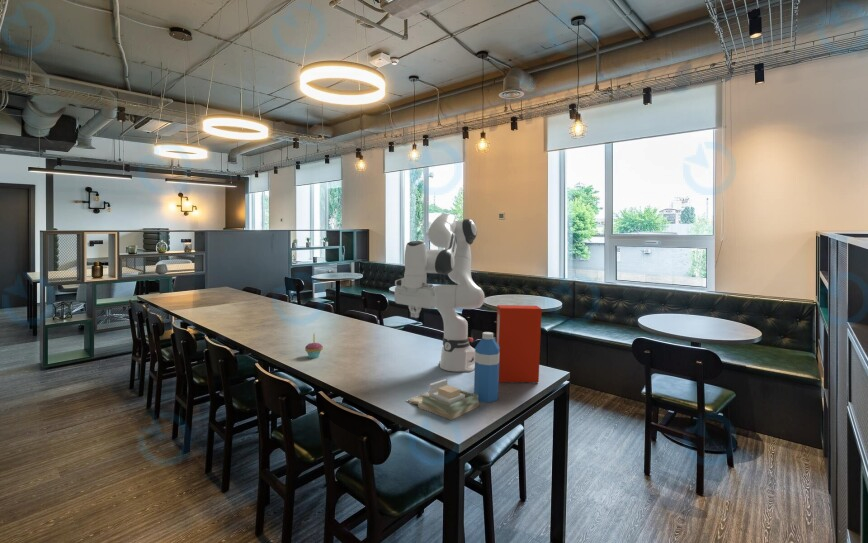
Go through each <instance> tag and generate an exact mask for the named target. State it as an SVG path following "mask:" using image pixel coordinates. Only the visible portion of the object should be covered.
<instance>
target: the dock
mask: <svg viewBox="0 0 868 543" xmlns="http://www.w3.org/2000/svg"><path fill="white" fill-rule="evenodd" d="M427 392H428V393H426V392H424V393H425V394H423V393H422V394H423V395H421V394H419V395H420V396H418V395H417V396H418V397H416V396H414V397H415V398H413V397H412V398H413V399H411V398H409V399H410V400H408V399H407V400H408V402H407V403H409V402H411V403H413V404H412V405H417V406H418V407H420V408H419V409H421V408H422V409H421V410H423V409H425V410H424V411H426V410H427V411H426V412H428V411H430V412H429V413H431V412H432V413H431V414H433V413H435V414H434V415H436V414H437V415H436V416H439V415H440V416H439V417H441V416H442V417H441V418H444V417H445V418H444V419H446V418H447V420H450V421H452V420H455V419H457V418H458V417H460V416H462V415H464V414H466V413H469V412H470V411H472V410H474V409H477V408H478V407H479V406H480V401H478V395H477V394H474V393H472V392H468V391H465V390H462V389H460V393H462V394H465V399H462V400H460V401H458V402H456V403H454V404H451V405H450V404H449V403H446V402H443V401H440V400H437V399H435V398H432V397H429V391H427ZM411 403H410V404H411Z"/></svg>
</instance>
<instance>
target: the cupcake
mask: <svg viewBox="0 0 868 543" xmlns="http://www.w3.org/2000/svg"><path fill="white" fill-rule="evenodd" d="M315 335H316V334H315V333H313V335H312V336H313V337H312V338H313V339H312V342H309V343H307V345H306V346H305V349H304V350H305V351H306V353H307V355H308V358H309V359H316V358H319V357H320V354H321V352H322V351H323V350H324V348H323V345H322V343H318V342H316V336H315Z"/></svg>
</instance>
